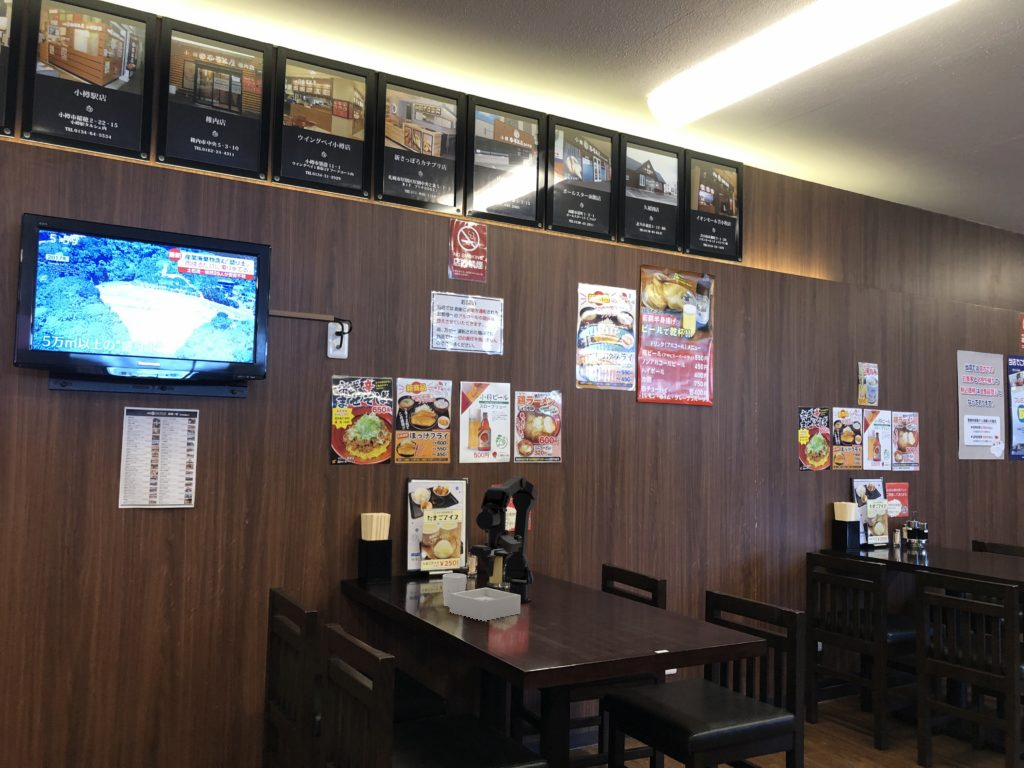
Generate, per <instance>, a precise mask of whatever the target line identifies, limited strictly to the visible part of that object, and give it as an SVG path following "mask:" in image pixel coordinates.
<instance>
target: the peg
mask: <svg viewBox="0 0 1024 768" xmlns="http://www.w3.org/2000/svg"><path fill="white" fill-rule="evenodd" d="M502 559H503V557H501V556H497V557H496V558H495V560H494V567H493V576H492V577H490V576H489V584H502V582H503V573H502Z"/></svg>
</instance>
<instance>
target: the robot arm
mask: <svg viewBox="0 0 1024 768" xmlns="http://www.w3.org/2000/svg"><path fill="white" fill-rule="evenodd" d="M537 498H538V491H537V489H536V487H535V485H534V484H532V483H531V482H529V480H527V478H526V477H525V476H517V475H512V476H510V477H509V479H508V480H506V481H505V482H503V483H502V484H500V485H496V486H489V487H488V488H487V489H486V491H485V493H484V496H483V499H482V502H481V504H480V509H481V512H479V513H478V514H477V517H476V521H475V522H476V525H477V526H478V528H480V529H481V530H483V531H484V534H487V542H486V541H485V542H484V545H483V544H477V545H476V544H475V545H471V547H470V548H469V555H471V556H477V557H480V559H481V561H482V563H483V564H484V567H485V569H486V571H487V575H488V576H489V578H490V577H492V576H493V567H494V560H495V558H496V557H497V556H501V557H503V559H502V574H503V573H504V580H505V583H506V584H509V587H508V592H509V593H513V594H518V595H521V602H520V604H523V603H528V602H532V599H531V598H529V588H530V586H529V585H533V584H534V583H533V582H534V575H533V572H532V570H531V565H530V563H531V562H530V560H529V558H528V556H527V545H528V534H529V524H530V523H529V522H530V521H529V520H530V513H531V511H532V510H533V508H534V507H535V506H536V500H537ZM511 499H512V505H513V507H514V509H515V521H514V530H513V531H514V532H513V536H511V535H510V531H509V530H508V529H506V528H507V527H506V526H507V525H506V524H507V522H506V521H507V512H508V509H507V508H508V506H509V503H510V502H511Z"/></svg>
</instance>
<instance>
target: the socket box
mask: <svg viewBox="0 0 1024 768" xmlns="http://www.w3.org/2000/svg"><path fill="white" fill-rule="evenodd" d="M520 602H521V595H518V594H513V593H509V591H503V590H498V589H493V588H490V587H482V588H477V589H476V588H475V589H469V590H465V591H463V592H457V593H451V594H450V607H449V613H450V612H451V613H450V614H453V613H454V614H453V615H457V614H458V616H460V615H462V617H464V616H466V617H465V618H468V617H470V618H469V619H472V618H473V620H476V619H478V620H477V621H480V620H482V621H481V622H483V621H485V622H488V621H487V620H490V621H492V620H491V619H495V620H497V619H496V618H499V619H501V618H500V617H504V618H506V617H505V616H509V617H511V616H510V615H514V616H516V615H515V614H518V615H521V603H520Z"/></svg>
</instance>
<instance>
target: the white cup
mask: <svg viewBox="0 0 1024 768" xmlns="http://www.w3.org/2000/svg"><path fill="white" fill-rule="evenodd" d="M466 584H467V575H466V574H464V573H456V572H453V573H452V572H451V573H444V574H443V575H442V597H443V606H444V607H445V606H448V607H447V608H450V594H451V593H457V592H463V591H466V588H467V587H466V586H467V585H466Z"/></svg>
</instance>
